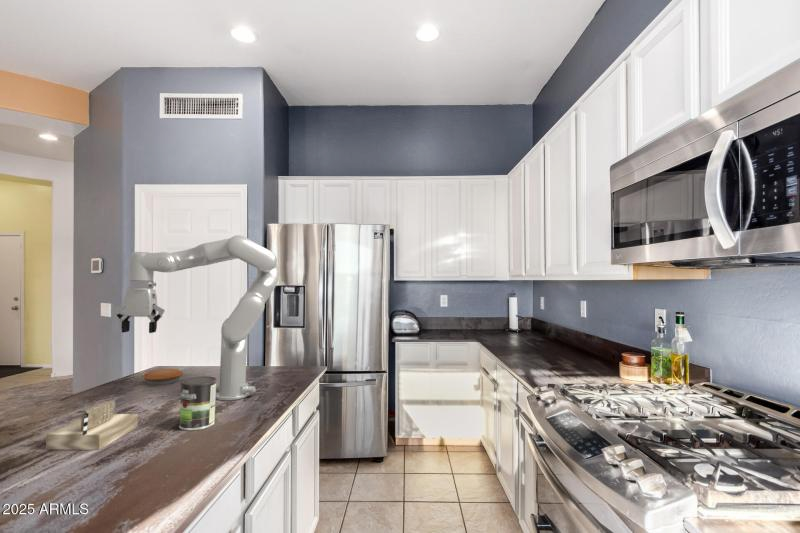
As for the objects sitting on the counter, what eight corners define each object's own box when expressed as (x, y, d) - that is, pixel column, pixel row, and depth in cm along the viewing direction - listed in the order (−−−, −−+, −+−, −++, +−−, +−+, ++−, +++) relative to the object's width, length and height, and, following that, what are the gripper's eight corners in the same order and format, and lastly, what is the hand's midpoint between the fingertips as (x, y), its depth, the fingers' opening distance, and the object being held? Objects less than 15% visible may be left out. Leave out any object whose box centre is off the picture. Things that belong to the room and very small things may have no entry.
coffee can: (195, 433, 118) (197, 386, 118) (171, 427, 121) (173, 382, 122) (222, 421, 127) (224, 378, 128) (199, 416, 131) (200, 374, 131)
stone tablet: (84, 413, 105) (120, 400, 117) (71, 412, 105) (108, 399, 117) (82, 435, 104) (118, 419, 116) (69, 434, 105) (106, 418, 117)
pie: (178, 376, 183) (178, 365, 183) (186, 383, 172) (187, 371, 172) (139, 381, 173) (139, 369, 173) (145, 389, 161) (146, 376, 161)
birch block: (137, 427, 121) (137, 414, 121) (98, 449, 105) (99, 434, 105) (91, 426, 120) (92, 413, 121) (45, 449, 104) (46, 434, 105)
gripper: (170, 285, 147) (168, 331, 146) (124, 284, 146) (122, 330, 146) (158, 286, 139) (156, 334, 139) (109, 285, 139) (107, 333, 138)
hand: (138, 332), depth 142 cm, fingers open, 9 cm apart
